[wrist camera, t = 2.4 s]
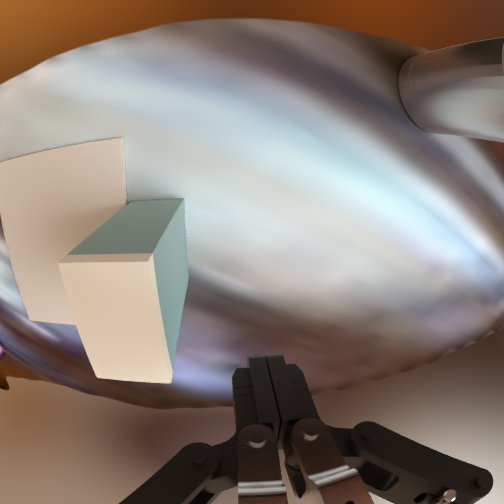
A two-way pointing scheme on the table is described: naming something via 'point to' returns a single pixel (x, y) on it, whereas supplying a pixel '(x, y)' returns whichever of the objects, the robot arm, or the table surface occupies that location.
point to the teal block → (131, 290)
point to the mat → (57, 215)
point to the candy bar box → (2, 350)
